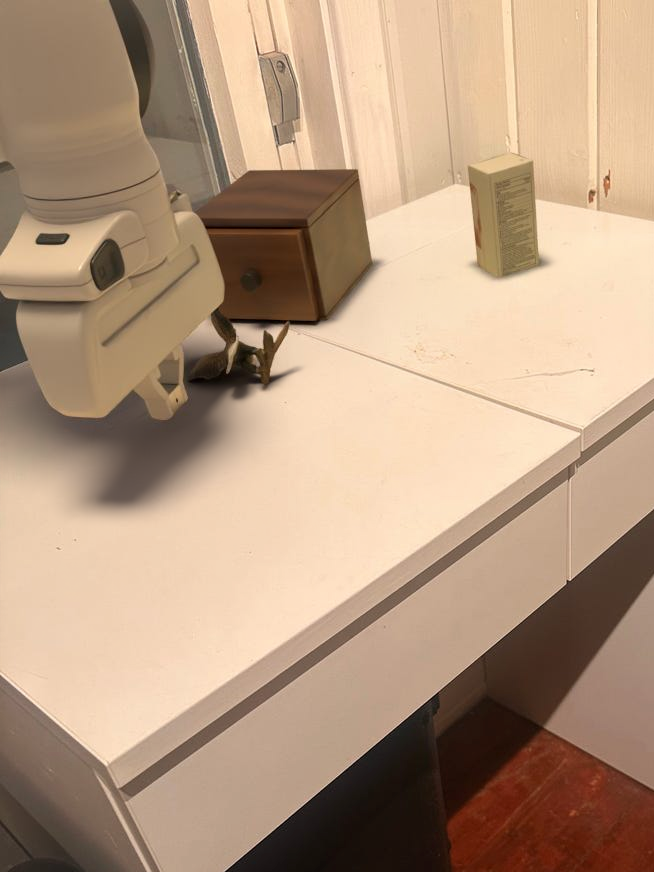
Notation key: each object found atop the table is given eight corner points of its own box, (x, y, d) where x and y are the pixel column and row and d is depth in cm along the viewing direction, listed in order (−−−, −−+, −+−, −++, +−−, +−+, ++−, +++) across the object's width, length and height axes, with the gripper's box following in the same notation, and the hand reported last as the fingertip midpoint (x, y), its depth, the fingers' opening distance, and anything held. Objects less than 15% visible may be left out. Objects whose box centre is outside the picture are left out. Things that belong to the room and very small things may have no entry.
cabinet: (327, 325, 85) (306, 218, 79) (215, 321, 88) (186, 218, 81) (373, 268, 95) (358, 168, 88) (271, 266, 97) (248, 170, 91)
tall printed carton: (517, 256, 94) (512, 150, 87) (540, 269, 91) (537, 159, 84) (473, 270, 92) (465, 162, 86) (496, 283, 90) (489, 172, 83)
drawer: (310, 326, 83) (292, 239, 78) (207, 323, 86) (183, 238, 80) (359, 268, 93) (345, 186, 87) (265, 266, 95) (247, 187, 90)
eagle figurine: (308, 347, 79) (226, 315, 82) (275, 300, 73) (186, 266, 75) (267, 423, 79) (184, 387, 81) (229, 382, 72) (141, 345, 74)
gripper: (141, 175, 69) (194, 348, 78) (-26, 284, 55) (63, 479, 64) (217, 174, 68) (261, 350, 77) (66, 286, 53) (143, 485, 63)
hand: (170, 410), depth 70 cm, fingers closed
